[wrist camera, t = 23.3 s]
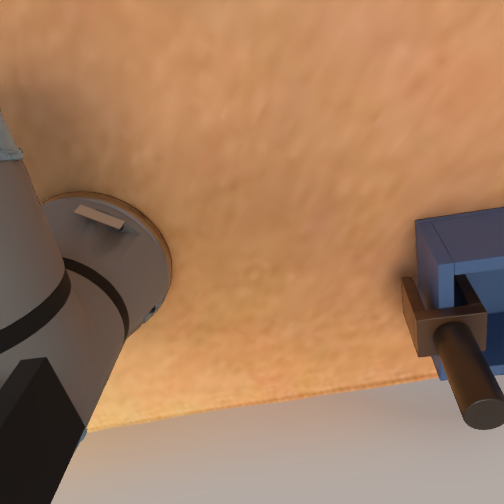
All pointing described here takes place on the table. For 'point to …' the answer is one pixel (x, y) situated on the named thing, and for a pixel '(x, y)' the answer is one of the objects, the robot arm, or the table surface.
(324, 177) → the table surface
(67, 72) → the table surface
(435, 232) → the bin
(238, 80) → the table surface
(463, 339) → the peg on small stool
